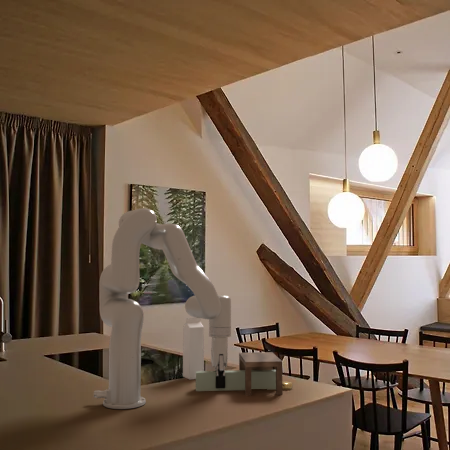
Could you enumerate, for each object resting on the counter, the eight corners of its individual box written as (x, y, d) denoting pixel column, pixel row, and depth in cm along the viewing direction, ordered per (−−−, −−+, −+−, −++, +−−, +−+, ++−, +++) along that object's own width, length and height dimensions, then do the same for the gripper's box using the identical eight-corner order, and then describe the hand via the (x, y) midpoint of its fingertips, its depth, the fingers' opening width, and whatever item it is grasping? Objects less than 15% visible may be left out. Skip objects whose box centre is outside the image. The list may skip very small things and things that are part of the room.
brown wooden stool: (245, 395, 170) (245, 362, 171) (239, 382, 188) (239, 352, 189) (282, 394, 171) (282, 361, 172) (272, 382, 189) (272, 352, 190)
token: (279, 390, 178) (279, 384, 178) (276, 386, 183) (276, 381, 183) (293, 390, 178) (293, 384, 178) (290, 386, 183) (290, 381, 183)
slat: (196, 391, 176) (196, 373, 177) (195, 389, 179) (195, 371, 180) (278, 389, 179) (278, 371, 179) (277, 387, 182) (276, 369, 182)
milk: (182, 376, 199) (182, 317, 200) (197, 375, 202) (197, 316, 203) (189, 379, 193) (189, 319, 195) (204, 378, 196) (204, 318, 198)
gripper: (207, 329, 188) (207, 381, 186) (210, 335, 171) (210, 393, 170) (228, 328, 188) (228, 381, 187) (233, 334, 172) (233, 392, 171)
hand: (219, 386), depth 178 cm, fingers closed on slat, 3 cm apart
